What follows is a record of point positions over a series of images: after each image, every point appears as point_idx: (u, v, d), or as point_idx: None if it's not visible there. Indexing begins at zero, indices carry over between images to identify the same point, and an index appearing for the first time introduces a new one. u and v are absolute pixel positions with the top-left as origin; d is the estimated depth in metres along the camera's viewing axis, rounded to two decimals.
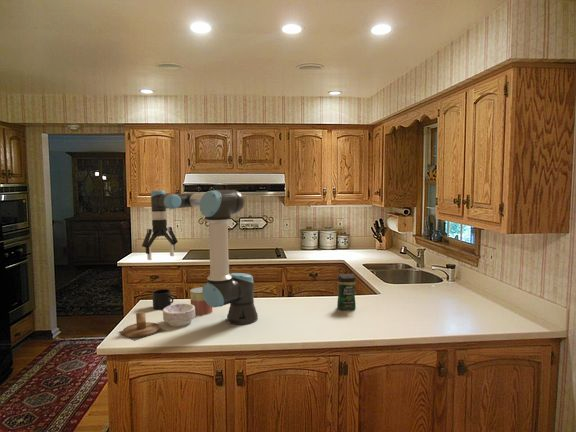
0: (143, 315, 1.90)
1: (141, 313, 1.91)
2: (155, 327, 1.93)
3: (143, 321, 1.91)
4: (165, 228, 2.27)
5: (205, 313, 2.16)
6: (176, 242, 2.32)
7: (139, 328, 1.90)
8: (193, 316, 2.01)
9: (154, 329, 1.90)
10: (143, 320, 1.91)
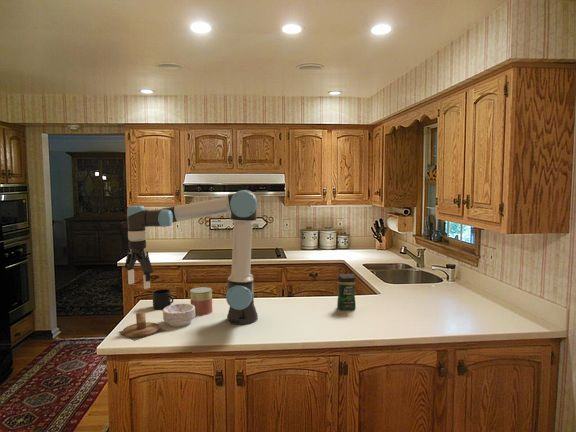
0: (143, 315, 1.90)
1: (141, 313, 1.91)
2: (155, 327, 1.93)
3: (143, 321, 1.91)
4: (138, 252, 1.86)
5: (205, 313, 2.16)
6: (147, 273, 1.83)
7: (139, 328, 1.90)
8: (193, 316, 2.01)
9: (154, 329, 1.90)
10: (143, 320, 1.91)
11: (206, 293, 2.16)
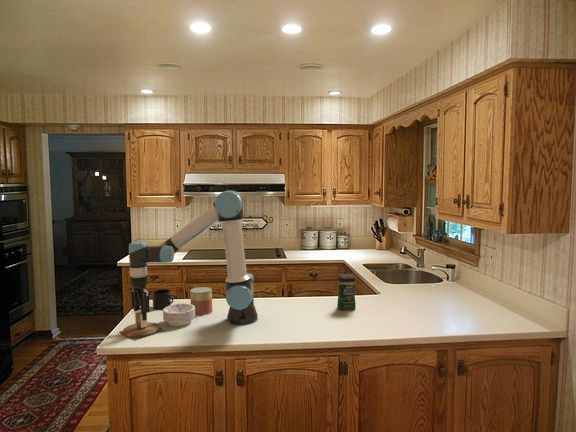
0: None
1: None
2: (155, 327, 1.93)
3: None
4: (140, 288, 1.88)
5: (205, 313, 2.16)
6: (143, 312, 1.87)
7: (139, 328, 1.90)
8: (193, 316, 2.01)
9: (154, 329, 1.90)
10: None
11: (206, 293, 2.16)
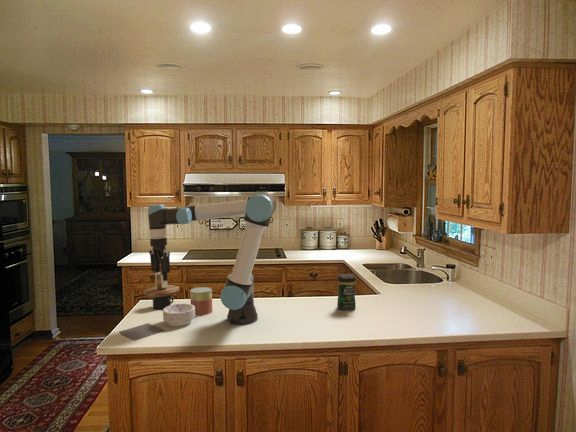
0: None
1: None
2: (175, 288, 1.97)
3: None
4: (160, 249, 1.92)
5: (205, 313, 2.16)
6: (164, 272, 1.92)
7: (160, 289, 1.94)
8: (193, 316, 2.01)
9: (175, 289, 1.95)
10: None
11: (206, 293, 2.16)
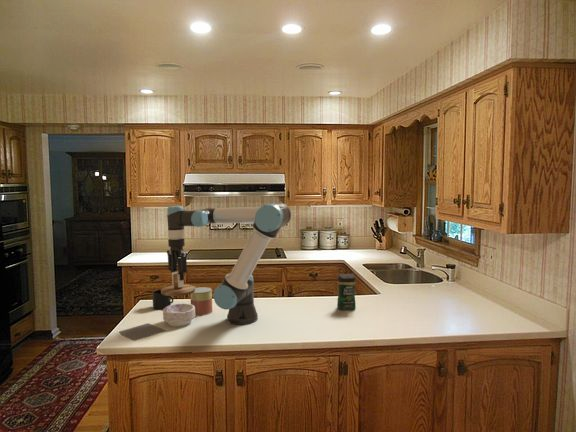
0: None
1: None
2: (191, 287, 2.03)
3: None
4: (178, 250, 1.97)
5: (205, 313, 2.16)
6: (181, 272, 1.97)
7: (176, 288, 2.00)
8: (193, 316, 2.01)
9: (190, 289, 2.00)
10: None
11: (206, 293, 2.16)
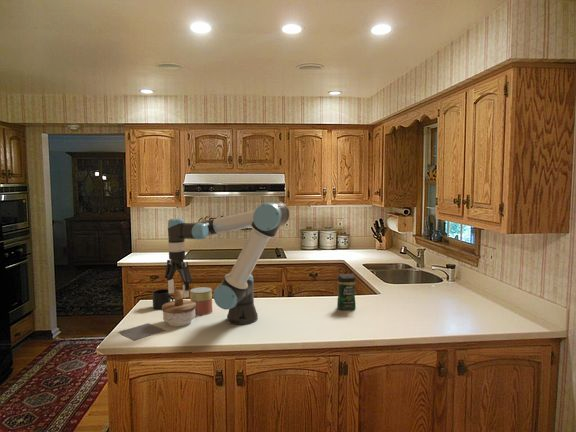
0: (181, 292, 2.01)
1: (179, 290, 2.02)
2: (192, 304, 2.03)
3: (181, 298, 2.01)
4: (178, 262, 1.98)
5: (205, 313, 2.16)
6: (186, 282, 1.95)
7: (177, 304, 2.00)
8: (193, 316, 2.01)
9: (191, 306, 2.00)
10: (181, 297, 2.01)
11: (206, 293, 2.16)
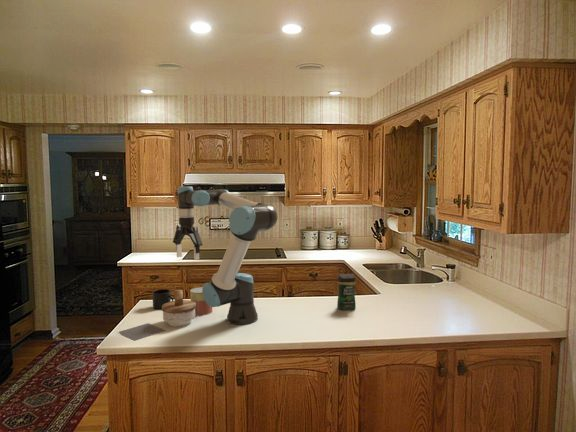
0: (181, 292, 2.01)
1: (179, 290, 2.02)
2: (192, 304, 2.03)
3: (181, 298, 2.01)
4: (188, 227, 2.09)
5: (205, 313, 2.16)
6: (197, 245, 2.06)
7: (177, 304, 2.00)
8: (193, 316, 2.01)
9: (191, 305, 2.00)
10: (181, 297, 2.01)
11: None
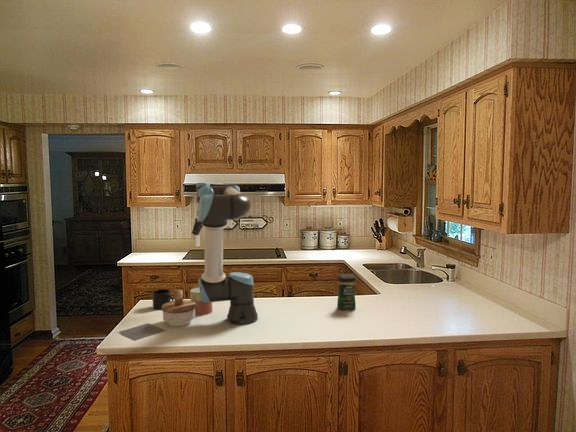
0: (181, 292, 2.01)
1: (179, 290, 2.02)
2: (192, 304, 2.03)
3: (181, 298, 2.01)
4: None
5: (205, 313, 2.16)
6: None
7: (177, 304, 2.01)
8: (193, 316, 2.01)
9: (191, 305, 2.01)
10: (181, 297, 2.01)
11: None
